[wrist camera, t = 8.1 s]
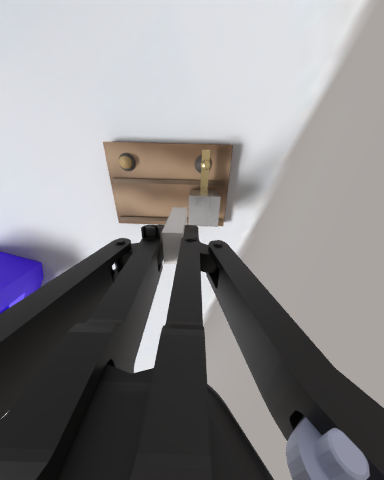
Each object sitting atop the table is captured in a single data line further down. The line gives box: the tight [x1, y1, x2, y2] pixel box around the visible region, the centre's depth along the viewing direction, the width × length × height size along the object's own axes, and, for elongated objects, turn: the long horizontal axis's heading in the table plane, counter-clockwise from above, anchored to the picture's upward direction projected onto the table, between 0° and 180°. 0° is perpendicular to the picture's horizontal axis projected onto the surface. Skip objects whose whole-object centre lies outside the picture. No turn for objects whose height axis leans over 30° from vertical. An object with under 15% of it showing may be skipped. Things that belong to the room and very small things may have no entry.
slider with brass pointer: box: [188, 150, 221, 227], centre depth 22 cm, size 9×4×5 cm, turn 179°
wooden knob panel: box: [103, 142, 233, 226], centre depth 25 cm, size 12×18×3 cm, turn 89°
